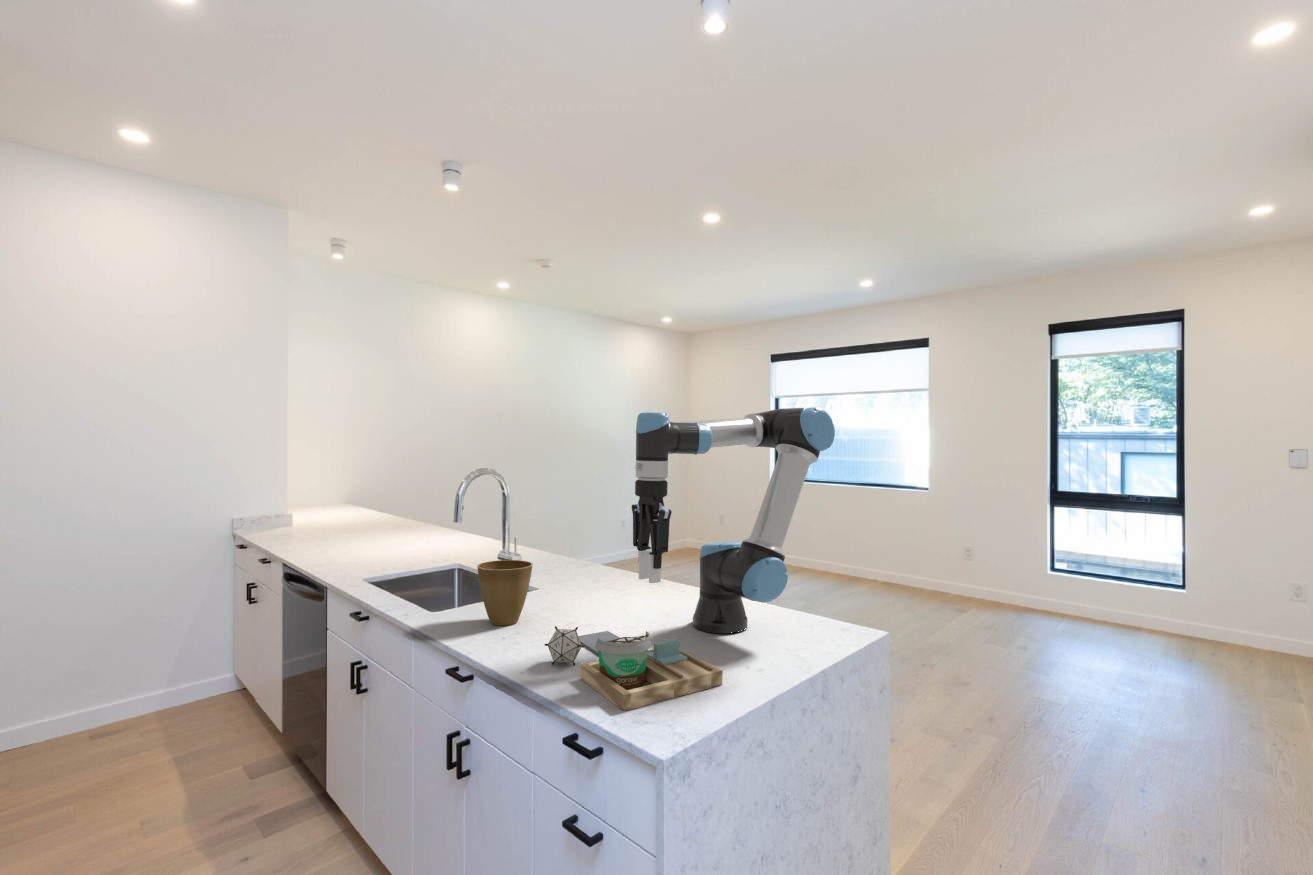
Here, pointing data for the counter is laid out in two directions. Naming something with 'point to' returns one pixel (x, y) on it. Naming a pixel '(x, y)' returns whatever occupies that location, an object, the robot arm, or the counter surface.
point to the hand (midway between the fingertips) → (649, 580)
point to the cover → (667, 652)
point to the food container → (624, 660)
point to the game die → (564, 645)
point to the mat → (596, 639)
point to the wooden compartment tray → (655, 681)
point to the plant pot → (504, 589)
